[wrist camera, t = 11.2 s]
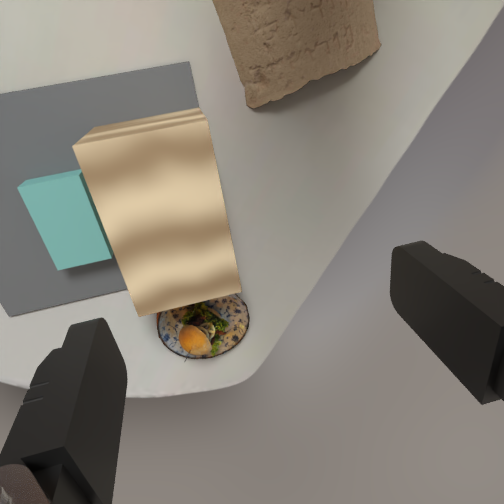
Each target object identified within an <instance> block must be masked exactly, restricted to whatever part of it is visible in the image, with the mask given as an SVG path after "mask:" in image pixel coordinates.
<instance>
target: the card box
mask: <svg viewBox="0 0 504 504" xmlns="http://www.w3.org/2000/svg"><path fill="white" fill-rule="evenodd" d="M17 189H18V191H19V193H20V195H21V197H22V199H23V201H24V203H25V205H26V207H27V209H28V211H29V213H30V215H31V217H32V219H33V221H34V223H35V225H36V227H37V229H38V231H39V233H40V235H41V237H42V239H43V241H44V243H45V245H46V247H47V250H48V252H49V254H50V256H51V258H52V260H53V262H54V264H55V266H56V268H57V270H62V269H66V268H71V267H75V266H80V265H84V264H89V263H93V262H97V261H102V260H106V259H111V258H112V256H113V250H112V247H111V245H110V242H109V239H108V237H107V234H106V232H105V229H104V227H103V224H102V221H101V219H100V216H99V214H98V211H97V209H96V206H95V204H94V201H93V198H92V196H91V193H90V191H89V188H88V186H87V183H86V181H85V178H84V175H83V173H82V170H81V169H79V170H74V171H69V172H64V173H59V174H54V175H49V176H44V177H39V178H34V179H29V180H25V181H24V182H23V183H22V184H21V185H19V186H18V187H17Z"/></svg>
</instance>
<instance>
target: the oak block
mask: <svg viewBox="0 0 504 504" xmlns="http://www.w3.org/2000/svg"><path fill="white" fill-rule="evenodd" d="M72 147H73V150H74V152H75V155H76V157H77V160H78V163H79V165H80V168H81V170H82V173H83V175H84V178H85V181H86V183H87V186H88V188H89V191H90V193H91V196H92V198H93V201H94V204H95V206H96V209H97V211H98V214H99V216H100V219H101V221H102V224H103V227H104V229H105V232H106V234H107V237H108V239H109V242H110V245H111V247H112V250H113V252H114V255H115V257H116V260H117V262H118V265H119V268H120V270H121V273H122V275H123V278H124V280H125V283H126V285H127V288H128V291H129V293H130V296H131V298H132V301H133V303H134V306H135V309H136V311H137V314H138V316H139V317H141V316H145V315H149V314H153V313H157V312H161V311H165V310H169V309H173V308H177V307H182V306H186V305H190V304H194V303H198V302H202V301H206V300H210V299H214V298H218V297H222V296H226V295H230V294H235V293H239V292H242V289H241V284H240V279H239V274H238V269H237V264H236V259H235V254H234V249H233V244H232V239H231V234H230V229H229V224H228V219H227V214H226V209H225V204H224V199H223V195H222V190H221V185H220V180H219V175H218V170H217V165H216V160H215V155H214V150H213V145H212V140H211V135H210V130H209V125H208V120H207V119H206V117H205V116H204V114H203V113H202V111H201V110H200V108H194V109H188V110H183V111H178V112H172V113H167V114H162V115H156V116H151V117H146V118H140V119H135V120H130V121H124V122H119V123H114V124H108V125H103V126H98V127H94V128H93V129H92V130H90V131H89V132H88V133H87V134H86V135H85V136H84V137H82V138H81V139H80V140H79V141H78V142H77V143H75V144H74V145H73V146H72Z"/></svg>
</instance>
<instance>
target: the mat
mask: <svg viewBox="0 0 504 504" xmlns="http://www.w3.org/2000/svg"><path fill="white" fill-rule="evenodd" d="M194 108H199V106H198V101H197V96H196V91H195V87H194V82H193V77H192V72H191V67H190V63H189V62H183V63H177V64H171V65H166V66H160V67H154V68H148V69H142V70H137V71H131V72H125V73H119V74H114V75H108V76H102V77H96V78H90V79H85V80H79V81H73V82H67V83H62V84H56V85H50V86H44V87H38V88H33V89H27V90H21V91H15V92H9V93H4V94H0V303H1V305H2V306H3V308H4V309H5V311H6V313H7V314H8V316H9V317H10V316H14V315H18V314H22V313H27V312H31V311H35V310H39V309H44V308H48V307H52V306H56V305H60V304H65V303H69V302H73V301H77V300H82V299H86V298H90V297H94V296H99V295H103V294H107V293H111V292H115V291H120V290H124V289H128V288H127V285H126V283H125V280H124V278H123V275H122V273H121V270H120V268H119V265H118V262H117V260H116V257H115V255H114V252H113V256H112V258H111V259H106V260H102V261H97V262H93V263H89V264H84V265H80V266H75V267H71V268H66V269H62V270H57V268H56V266H55V264H54V262H53V260H52V258H51V256H50V254H49V252H48V250H47V247H46V245H45V243H44V241H43V239H42V237H41V235H40V233H39V231H38V229H37V227H36V225H35V223H34V221H33V219H32V217H31V215H30V213H29V211H28V209H27V207H26V205H25V203H24V201H23V199H22V197H21V195H20V193H19V191H18V189H17V187H18V186H19V185H21V184H22V183H23V182H24V181H25V180H29V179H34V178H39V177H44V176H49V175H54V174H59V173H64V172H69V171H74V170H79V169H81V168H80V165H79V163H78V160H77V157H76V155H75V152H74V150H73V147H72V146H73V145H74V144H75V143H77V142H78V141H79V140H80V139H81V138H82V137H84V136H85V135H86V134H87V133H88V132H89V131H90V130H92V129H93V128H94V127H98V126H103V125H108V124H114V123H119V122H124V121H130V120H135V119H140V118H146V117H151V116H156V115H162V114H167V113H172V112H178V111H183V110H188V109H194Z"/></svg>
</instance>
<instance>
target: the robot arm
mask: <svg viewBox="0 0 504 504" xmlns="http://www.w3.org/2000/svg"><path fill="white" fill-rule="evenodd" d="M391 261H392V262H391V280H390V297H391V301H392V304H393V306H394V308H395V310H396V311H397V313H398V314H399V315H400V316H401V317H402V318H403V319H404V321H406V323H407V324H408V325H409V326H410V327H411V328H412V329H413V330H414V331H415V332H416V334H418V336H419V337H420V338H421V339H422V340H423V341H424V342H425V343H426V344H427V346H428V347H429V348H430V349H431V350H432V351H433V352H434V353H435V354H436V355H437V357H438V358H439V359H440V360H441V361H442V362H443V363H444V364H445V365H446V366H447V367H448V368H449V370H450V371H451V372H452V373H453V374H454V375H455V376H456V377H457V378H458V379H459V380H460V382H461V383H462V384H463V385H464V386H465V387H466V388H467V389H468V390H469V391H470V393H471V394H472V395H473V396H474V397H475V398H476V399H477V400H478V401H479V402H480V403H481V404H482V405H483V404H486V403H490V402H493V401H496V400H500V399H502V400H503V401H504V286H503V285H501V284H500V283H498V282H494V279H492V278H490V277H489V276H488V275H486V274H485V273H481V271H480V270H479V269H477V268H476V267H474V266H473V265H471V264H470V263H468V262H467V261H465V260H462V259H460V258H457V257H454V256H451V255H448V254H446V253H443V254H442V253H441V252H439V251H438V250H437V249H435V248H434V247H432V246H431V245H429V244H428V243H426V242H425V241H418V242H414V243H410V244H405V245H401V246H398V247H395V248H394V249H393V252H392V260H391ZM126 389H127V370H126V365H125V362H124V359H123V357H122V355H121V352H120V350H119V348H118V346H117V344H116V341H115V339H114V337H113V335H112V332H111V330H110V328H109V326H108V324H107V322H106V320H105V319H104V318H97V319H93V320H89V321H85V322H81V323H77V324H73V325H71V326H70V327H69V329H68V332H67V335H66V337H65V340H64V343H63V345H62V348H58V349H54V350H52V351H51V352H50V354H49V355H48V356H47V357H46V358H45V359H44V361H43V362H42V363H41V364H40V365H39V366H38V367H37V370H36V372H35V374H34V377H33V379H32V381H31V384H30V389H28V391H27V393H26V395H25V398H24V400H23V405H22V406H21V407H20V409H19V412H18V414H17V416H16V419H15V421H14V423H13V426H12V428H11V430H10V433H9V435H8V437H7V440H6V442H5V444H4V447H3V449H2V451H1V454H0V504H112V498H113V490H114V483H115V475H116V467H117V459H118V452H119V443H120V436H121V427H122V420H123V413H124V405H125V397H126Z"/></svg>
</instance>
